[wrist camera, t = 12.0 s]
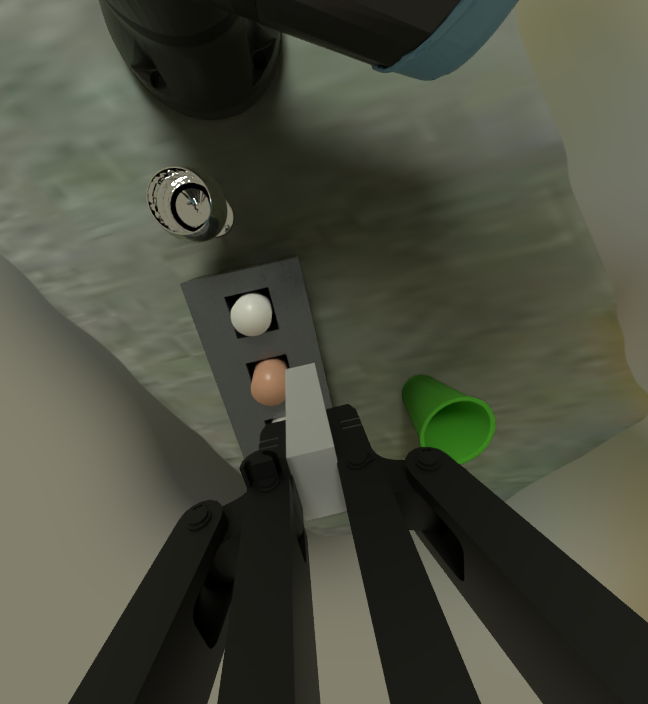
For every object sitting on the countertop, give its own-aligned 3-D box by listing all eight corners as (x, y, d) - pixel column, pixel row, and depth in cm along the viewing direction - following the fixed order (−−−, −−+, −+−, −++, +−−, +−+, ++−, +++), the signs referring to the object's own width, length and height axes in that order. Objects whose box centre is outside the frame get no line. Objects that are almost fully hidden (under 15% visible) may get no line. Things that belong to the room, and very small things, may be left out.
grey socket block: (195, 277, 36) (180, 283, 31) (295, 255, 37) (298, 257, 31) (253, 444, 45) (249, 473, 39) (334, 423, 45) (342, 449, 40)
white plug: (235, 291, 37) (225, 302, 30) (268, 284, 37) (265, 292, 30) (245, 323, 38) (237, 340, 32) (276, 316, 38) (275, 331, 32)
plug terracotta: (252, 353, 38) (245, 376, 31) (283, 345, 38) (284, 366, 32) (261, 382, 39) (256, 409, 33) (291, 374, 40) (293, 400, 33)
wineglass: (175, 221, 34) (123, 210, 23) (201, 174, 33) (160, 138, 22) (222, 253, 36) (196, 257, 25) (249, 209, 35) (233, 192, 23)
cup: (394, 425, 47) (426, 476, 36) (382, 372, 43) (414, 411, 33) (451, 407, 47) (499, 453, 37) (443, 353, 44) (493, 386, 33)
